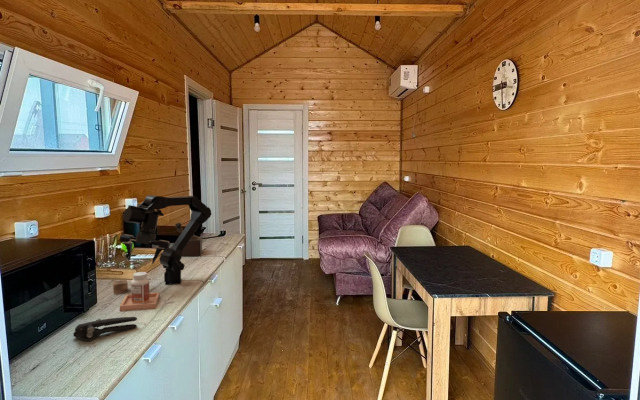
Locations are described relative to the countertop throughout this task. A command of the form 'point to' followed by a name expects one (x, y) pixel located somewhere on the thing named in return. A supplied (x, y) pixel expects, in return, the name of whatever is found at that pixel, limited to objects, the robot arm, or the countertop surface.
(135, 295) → the pill bottle
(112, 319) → the can opener
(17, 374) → the countertop surface
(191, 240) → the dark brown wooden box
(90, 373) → the countertop surface
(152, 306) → the tray
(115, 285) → the walnut block
